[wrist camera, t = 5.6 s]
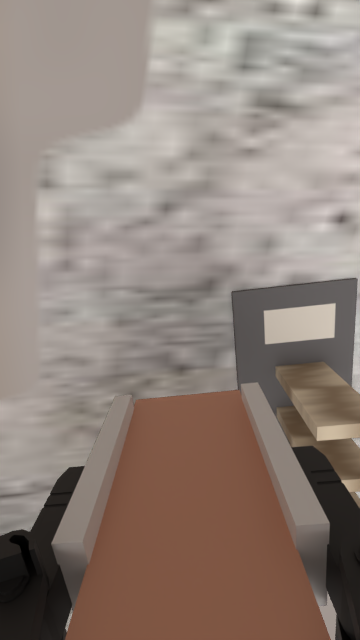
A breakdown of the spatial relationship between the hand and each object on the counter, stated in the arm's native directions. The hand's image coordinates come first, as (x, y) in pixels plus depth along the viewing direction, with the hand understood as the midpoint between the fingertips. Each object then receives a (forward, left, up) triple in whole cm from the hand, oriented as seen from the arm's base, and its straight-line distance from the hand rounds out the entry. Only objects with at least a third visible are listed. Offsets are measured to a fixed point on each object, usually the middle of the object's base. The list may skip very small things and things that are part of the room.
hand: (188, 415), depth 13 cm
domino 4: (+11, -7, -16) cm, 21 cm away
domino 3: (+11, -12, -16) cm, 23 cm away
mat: (+11, -11, -17) cm, 23 cm away
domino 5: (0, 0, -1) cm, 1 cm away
